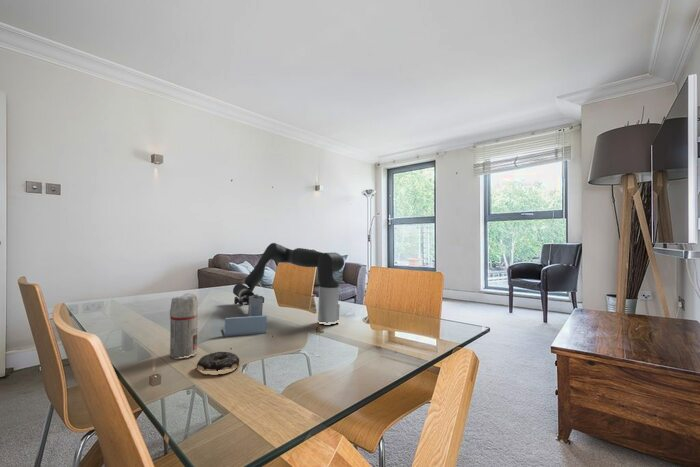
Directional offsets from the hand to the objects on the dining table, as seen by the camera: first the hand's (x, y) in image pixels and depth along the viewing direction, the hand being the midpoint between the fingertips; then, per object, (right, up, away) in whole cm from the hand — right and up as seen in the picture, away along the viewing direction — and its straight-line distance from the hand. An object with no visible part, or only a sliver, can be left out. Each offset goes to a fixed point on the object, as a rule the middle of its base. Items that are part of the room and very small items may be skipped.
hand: (251, 302), depth 161 cm
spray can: (-6, -6, -53) cm, 54 cm away
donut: (+9, -7, -62) cm, 63 cm away
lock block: (+5, -7, -11) cm, 14 cm away
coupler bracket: (+4, -7, -23) cm, 24 cm away
